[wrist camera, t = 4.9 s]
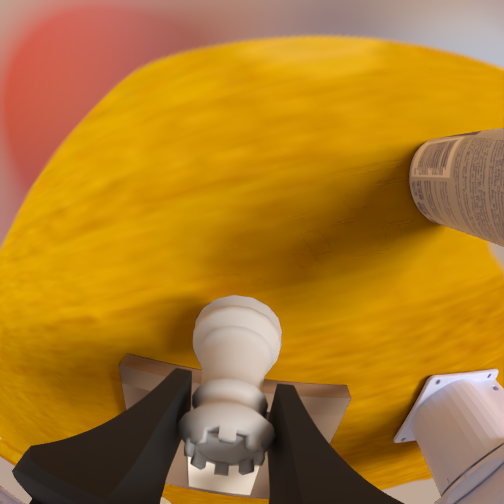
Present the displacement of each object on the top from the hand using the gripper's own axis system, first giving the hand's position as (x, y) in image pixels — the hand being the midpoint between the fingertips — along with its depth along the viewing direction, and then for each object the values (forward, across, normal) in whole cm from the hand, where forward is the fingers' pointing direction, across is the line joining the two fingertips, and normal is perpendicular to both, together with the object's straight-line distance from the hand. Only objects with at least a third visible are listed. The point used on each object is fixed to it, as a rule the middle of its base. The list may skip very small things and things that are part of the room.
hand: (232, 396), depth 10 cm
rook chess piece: (+5, 0, 0) cm, 5 cm away
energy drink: (+8, -11, -10) cm, 17 cm away
